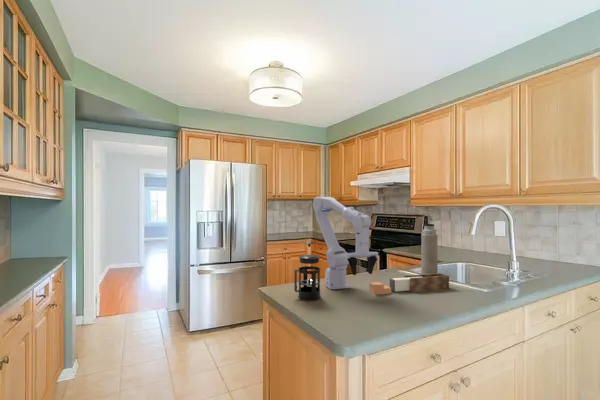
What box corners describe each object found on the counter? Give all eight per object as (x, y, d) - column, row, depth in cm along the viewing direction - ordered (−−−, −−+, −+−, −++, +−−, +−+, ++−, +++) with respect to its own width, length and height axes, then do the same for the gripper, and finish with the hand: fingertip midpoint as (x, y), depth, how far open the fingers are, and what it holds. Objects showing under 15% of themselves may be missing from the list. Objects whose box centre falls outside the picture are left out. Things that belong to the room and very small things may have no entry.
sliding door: (393, 291, 134) (393, 280, 134) (389, 289, 137) (389, 278, 137) (425, 289, 138) (425, 278, 138) (421, 287, 141) (421, 276, 141)
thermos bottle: (421, 273, 170) (421, 223, 170) (437, 275, 166) (437, 223, 167) (420, 276, 162) (420, 224, 163) (437, 278, 159) (437, 224, 159)
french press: (316, 292, 134) (316, 240, 134) (326, 298, 125) (325, 242, 126) (291, 295, 130) (291, 241, 130) (299, 302, 121) (299, 244, 121)
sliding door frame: (411, 292, 135) (411, 278, 135) (403, 288, 140) (403, 275, 140) (449, 289, 139) (449, 276, 139) (440, 285, 145) (440, 273, 145)
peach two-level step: (374, 295, 131) (374, 285, 131) (369, 292, 136) (369, 282, 136) (391, 293, 133) (391, 284, 133) (385, 291, 137) (385, 281, 138)
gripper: (350, 244, 127) (350, 277, 127) (381, 243, 131) (381, 275, 131) (343, 242, 134) (343, 273, 134) (373, 241, 138) (373, 271, 138)
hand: (362, 274), depth 133 cm, fingers open, 7 cm apart
